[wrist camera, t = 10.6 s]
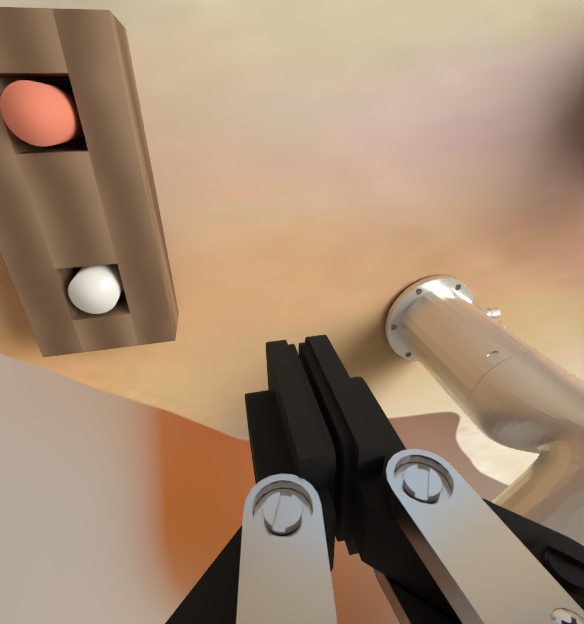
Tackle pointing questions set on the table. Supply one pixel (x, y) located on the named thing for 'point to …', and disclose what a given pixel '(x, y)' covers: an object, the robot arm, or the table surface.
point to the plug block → (82, 188)
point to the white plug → (96, 288)
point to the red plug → (41, 113)
